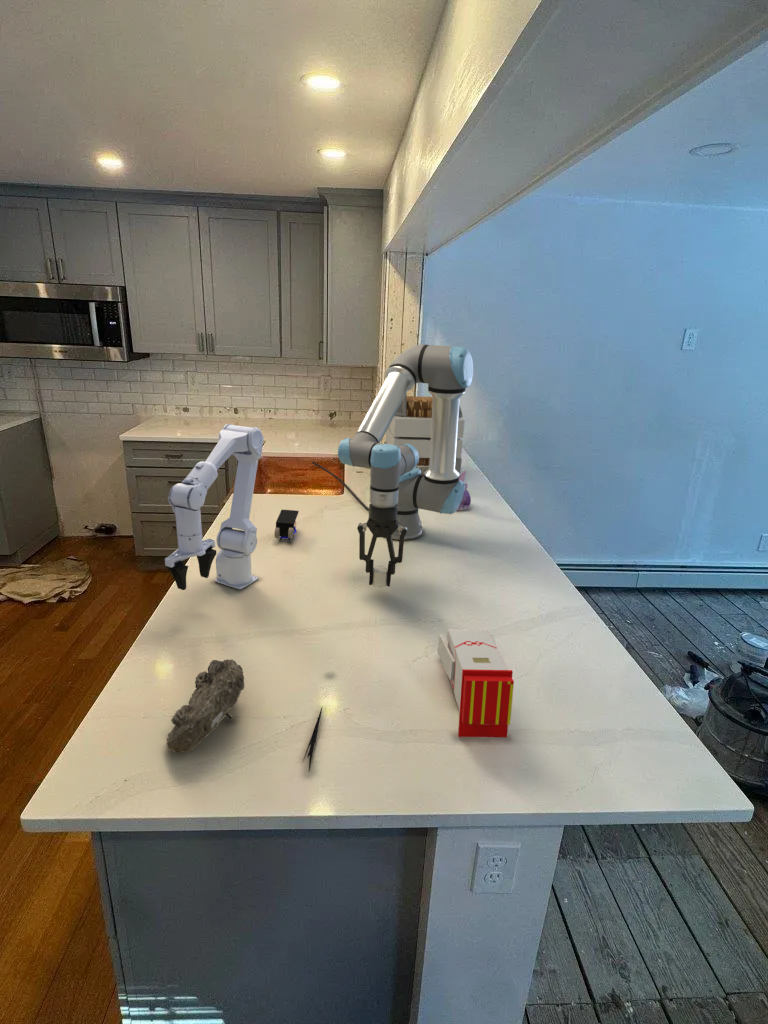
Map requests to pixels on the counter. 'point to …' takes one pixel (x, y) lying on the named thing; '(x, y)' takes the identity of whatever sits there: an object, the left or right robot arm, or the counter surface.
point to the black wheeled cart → (286, 524)
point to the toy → (478, 682)
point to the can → (380, 576)
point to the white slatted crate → (419, 428)
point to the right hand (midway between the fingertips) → (379, 583)
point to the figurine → (464, 494)
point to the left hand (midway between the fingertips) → (193, 582)
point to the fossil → (206, 705)
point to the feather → (313, 740)
